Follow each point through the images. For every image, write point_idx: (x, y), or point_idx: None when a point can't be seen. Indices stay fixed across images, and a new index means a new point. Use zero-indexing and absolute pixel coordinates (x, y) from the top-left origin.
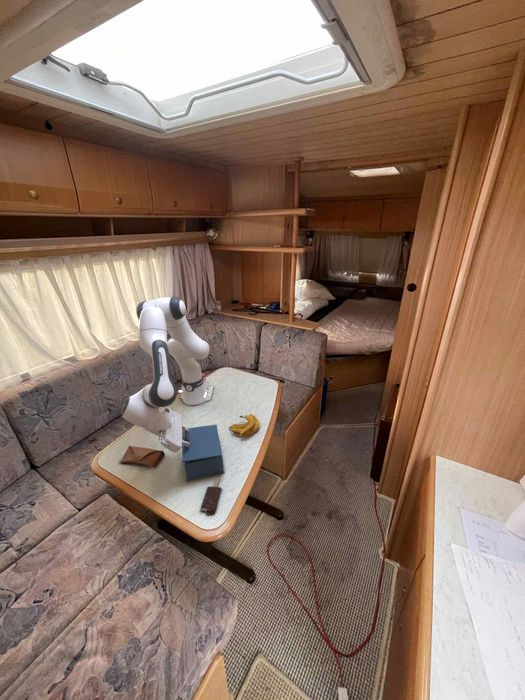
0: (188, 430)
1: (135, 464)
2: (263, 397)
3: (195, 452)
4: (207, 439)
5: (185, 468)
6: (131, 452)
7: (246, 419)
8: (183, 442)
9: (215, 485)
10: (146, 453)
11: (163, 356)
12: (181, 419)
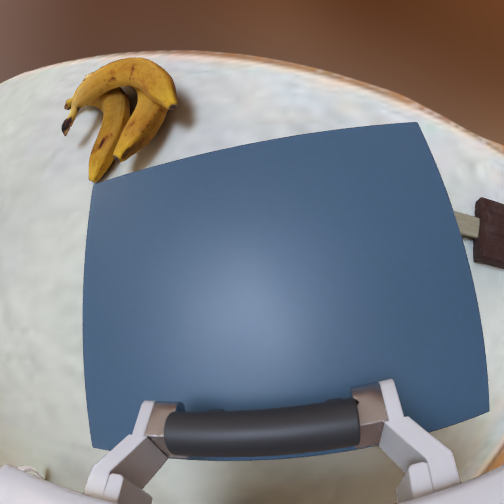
0: (152, 412)
1: None
2: (20, 99)
3: (411, 319)
4: (247, 228)
5: None
6: None
7: (91, 100)
8: (451, 452)
9: (470, 223)
10: None
11: None
12: (26, 482)
